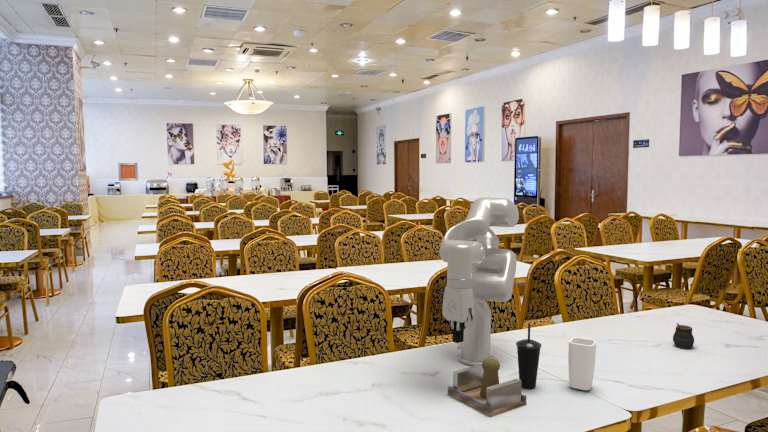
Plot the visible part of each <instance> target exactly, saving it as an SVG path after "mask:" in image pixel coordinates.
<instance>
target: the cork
mask: <svg viewBox="0 0 768 432" xmlns="http://www.w3.org/2000/svg"><path fill="white" fill-rule="evenodd" d="M494 358H495V357H494ZM494 358H486V359H484V360H483V362H482V368H483V369H484V372H483V379H482V385H481V391H480V396H481V397H482V398H484V399H486V389H487V387H490V386H494V385H497V384H500V378H499V377H500V376H499V370H500V369H501V363H500V361H499V360H498V359H496V358H495V359H494Z"/></svg>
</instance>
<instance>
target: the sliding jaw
mask: <svg viewBox="0 0 768 432" xmlns="http://www.w3.org/2000/svg"><path fill="white" fill-rule="evenodd" d="M483 372H484V369H483V368H482V364H479V365H475V366H472V365H470V366H468V367H467V366H466V367H464V368H461V369H456V370H453V371H452V387H453V388H455V389H457V390H459V391H461V392H462V391H465V390H469V389H472V388H475V387H479V386H481V385H482V379H483Z"/></svg>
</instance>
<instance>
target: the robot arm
mask: <svg viewBox="0 0 768 432" xmlns="http://www.w3.org/2000/svg"><path fill="white" fill-rule="evenodd" d="M519 215H520V213H519V209H518V207H517V205H516V204H515V203H514V202H513V201H512V200H511V199H509V198H505V197H490V196H489V197H485V196H484V197H479V198H476V199H475V200H474V201H473V202H472V203H471V206H470V209H469V211H468V214H467V215H466V218H465V220H462V221H460V222H459V223H457V224H455V225H454V226H452V227H450V228H449V229H448V230H447V231H446V232H445V234H444V236H443V238H442V240H441V243H440V247H439V257H440V259H441V260H442V261H443V262H445V263H447V266H446V267H447V271H446V274H447V276H446V286H445V288H444V292H443V297H442V308H441V309H442V313H441V314H442V316H443V318H445V319H446V321H448V322H449V323H450V327H451V329H452V338H451V340H452V342H453V343H455V344H458V345H457V349H458V350H461V353H460V354H458V360H459V362H460V363H462V364H463V365H464V364H465V365H467V366H468V365H469V366H475V365H479V364H482V362H483V360H484V359H486V358H494V359H496V358H495V356H494V355H492V354H491V338H492V337H491V335H492V333H491V332H492V331H491V330H492V328H491V327H492V326H491V325H492V313H491V312H492V311H491V309H490V307H489V305H488V303H487V302H486V301H489V302H500V303H505V302H508V301H510V299H511V297H512V294H513V290H514V283H515V277H516V270H517V257H516V254H515V252H514V251H512V250H511V249H506V248H505V249H504V248H499V245H500V239H499V238H498V236H497V234H496V233H495V232H494V230H492V229H491V228H490V227H495V228H496V227H498V228H500V227H501V228H513V227H515V226H516V225H517V224H518V222H519V219H520V216H519Z"/></svg>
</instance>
